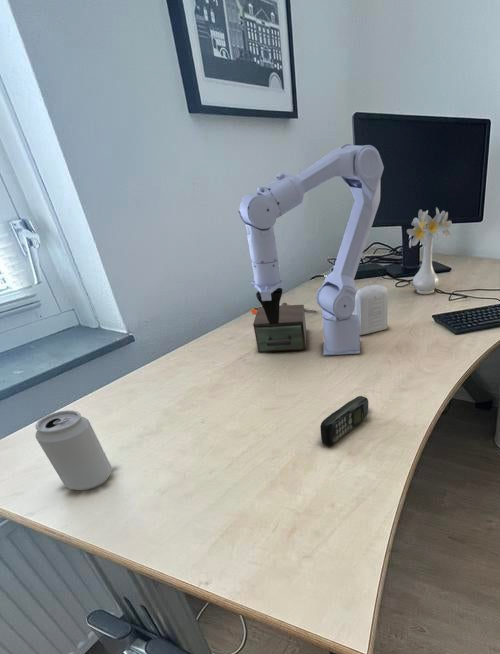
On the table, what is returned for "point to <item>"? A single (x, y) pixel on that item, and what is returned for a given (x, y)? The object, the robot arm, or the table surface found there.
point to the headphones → (254, 310)
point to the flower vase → (428, 247)
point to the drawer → (279, 337)
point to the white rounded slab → (371, 308)
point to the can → (73, 449)
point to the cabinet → (283, 321)
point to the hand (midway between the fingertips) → (274, 323)
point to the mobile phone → (343, 420)
